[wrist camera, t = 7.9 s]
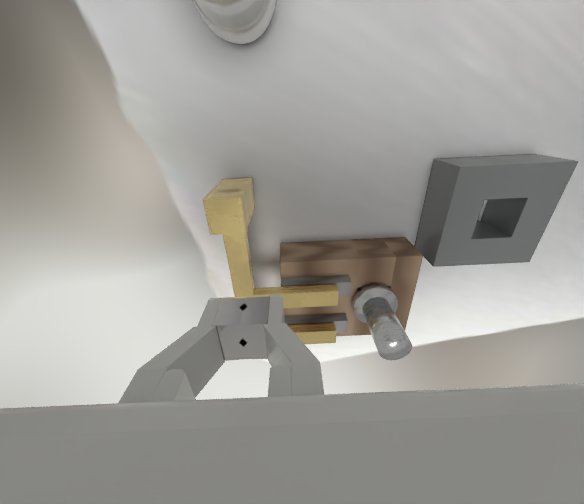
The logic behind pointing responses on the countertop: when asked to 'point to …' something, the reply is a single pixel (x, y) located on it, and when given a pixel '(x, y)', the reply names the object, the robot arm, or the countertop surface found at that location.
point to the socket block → (349, 277)
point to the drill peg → (382, 320)
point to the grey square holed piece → (489, 207)
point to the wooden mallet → (233, 225)
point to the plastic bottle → (237, 18)
